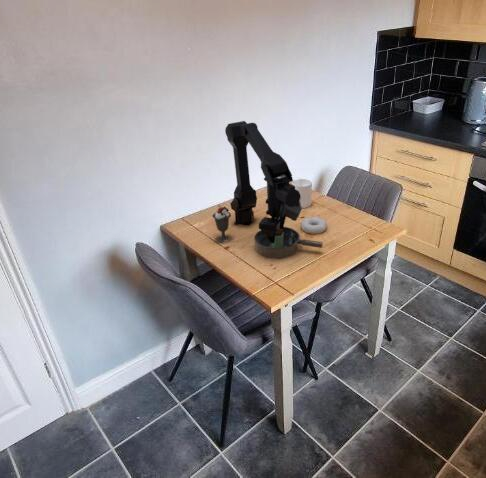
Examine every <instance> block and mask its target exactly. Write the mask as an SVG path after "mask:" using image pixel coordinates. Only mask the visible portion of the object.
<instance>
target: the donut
mask: <svg viewBox="0 0 486 478" xmlns="http://www.w3.org/2000/svg"><path fill="white" fill-rule="evenodd" d="M300 228H301V230H302V231H303V232H304V233H306V234H310V235H318V234H321V233H324V232H325V231H326V230H327V228H328V223H327V221H326V220H325V219H323V218H321V217H316V216H313V217H312V216H311V217H307V218H305V219H303V220H302V222H301V223H300Z"/></svg>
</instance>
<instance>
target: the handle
mask: <svg viewBox="0 0 486 478" xmlns="http://www.w3.org/2000/svg"><path fill="white" fill-rule="evenodd" d="M323 243H324V242H323V241H317V240H310V239H300V240H299V241H298V244H300V245H301V246H307V247H313V248H319V249H322V248H323V245H324V244H323Z"/></svg>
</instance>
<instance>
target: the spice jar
mask: <svg viewBox="0 0 486 478" xmlns="http://www.w3.org/2000/svg"><path fill="white" fill-rule="evenodd" d="M283 247H284V233H283V230H282V229H281V228H279V230H278V231H277V232H276V235H275V242H274V243H271V248H283Z"/></svg>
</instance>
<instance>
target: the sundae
mask: <svg viewBox="0 0 486 478" xmlns="http://www.w3.org/2000/svg"><path fill="white" fill-rule="evenodd" d="M231 215H232V214H231V212H230V211H229V209H228V208H227V207H226V206H221V205H220V204H219V205H218V208H217V210H216V212H214V213H213V214H212V217H211V218H213V219H214V221H215V226H216V229H217V230H218V231H219V232H221V236H218V237H217V239H216V241H217V242H218V243H221V244H223V243H224V242H225V241H228V240H229V235H226V231H227V230H228V229H229V222H230V218H231Z"/></svg>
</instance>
